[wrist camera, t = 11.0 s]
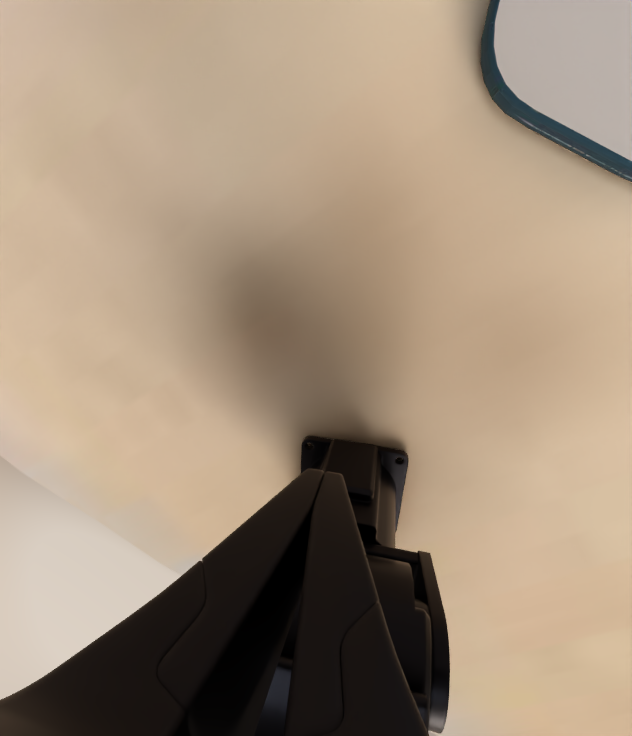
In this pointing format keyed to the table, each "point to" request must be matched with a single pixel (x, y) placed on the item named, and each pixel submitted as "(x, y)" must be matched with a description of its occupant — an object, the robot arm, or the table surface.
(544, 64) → the external hard drive
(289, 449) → the table surface
